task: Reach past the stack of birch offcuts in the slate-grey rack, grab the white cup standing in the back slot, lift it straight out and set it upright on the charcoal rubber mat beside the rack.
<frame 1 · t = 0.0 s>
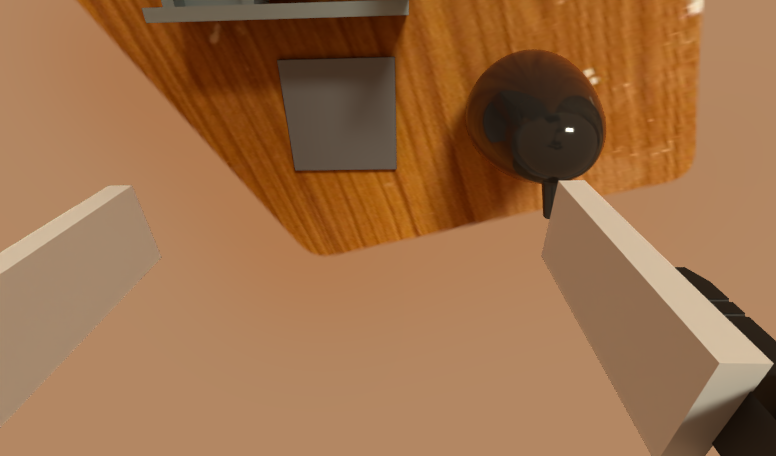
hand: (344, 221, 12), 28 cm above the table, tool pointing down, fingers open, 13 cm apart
pump dispenser: (511, 103, 37), on the table
mat: (341, 117, 38), on the table
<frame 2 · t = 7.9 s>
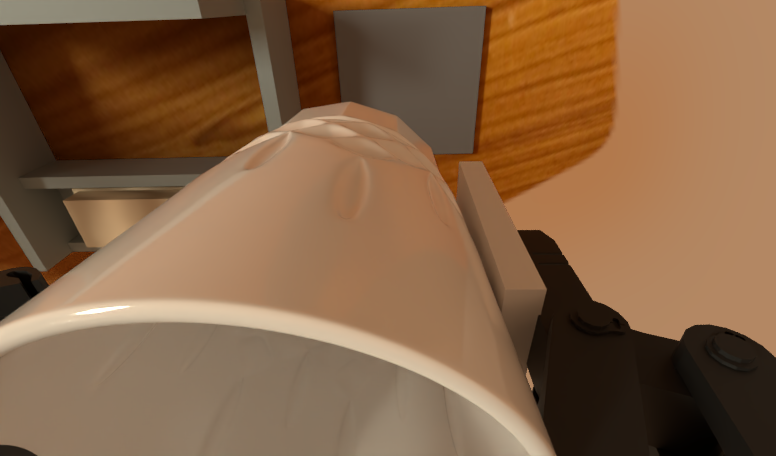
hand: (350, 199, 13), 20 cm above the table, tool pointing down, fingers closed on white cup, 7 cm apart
rack: (173, 152, 33), on the table
white cup: (350, 194, 14), point 19 cm above the table, touching gripper
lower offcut: (182, 203, 35), point 1 cm above the table, touching rack, upper offcut
upper offcut: (161, 213, 33), point 3 cm above the table, touching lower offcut
mat: (409, 87, 30), on the table
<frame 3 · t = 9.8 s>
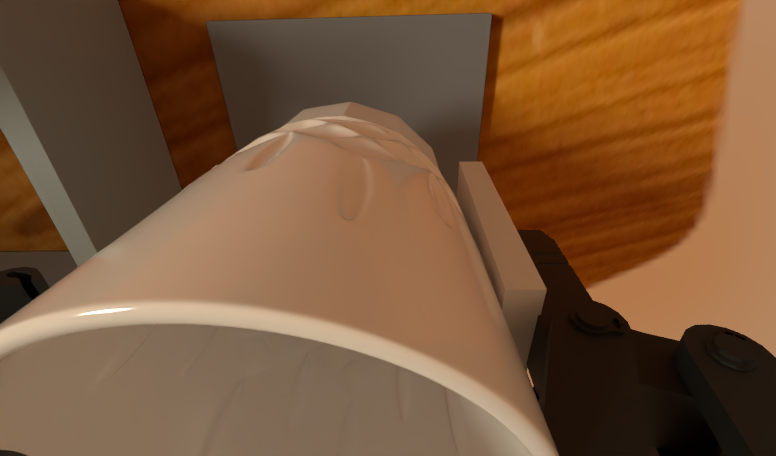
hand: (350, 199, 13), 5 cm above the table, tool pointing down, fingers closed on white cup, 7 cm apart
white cup: (351, 194, 14), point 5 cm above the table, touching gripper
mat: (357, 151, 18), on the table
when the fingers open (2 cm above the table, at t = 11.1 s): white cup moves 1 cm, resting on mat.
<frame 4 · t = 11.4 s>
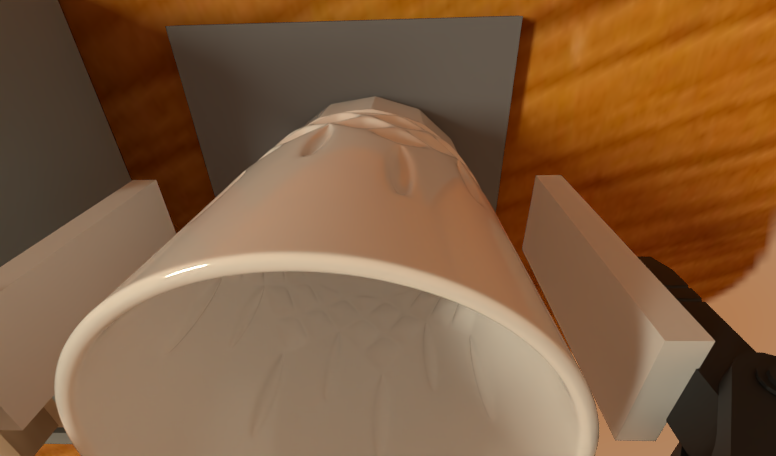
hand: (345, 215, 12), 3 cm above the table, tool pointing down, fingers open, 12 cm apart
white cup: (373, 184, 14), resting on mat
mat: (355, 180, 15), on the table
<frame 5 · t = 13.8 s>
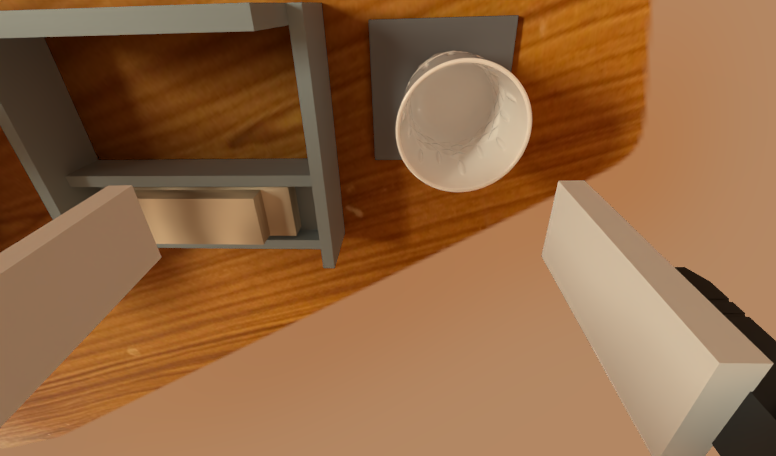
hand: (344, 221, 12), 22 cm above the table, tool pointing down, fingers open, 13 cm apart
rack: (208, 154, 35), on the table
white cup: (448, 95, 31), resting on mat
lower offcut: (215, 203, 36), point 1 cm above the table, touching rack, upper offcut
upper offcut: (196, 212, 35), point 3 cm above the table, touching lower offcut
mat: (439, 93, 31), on the table
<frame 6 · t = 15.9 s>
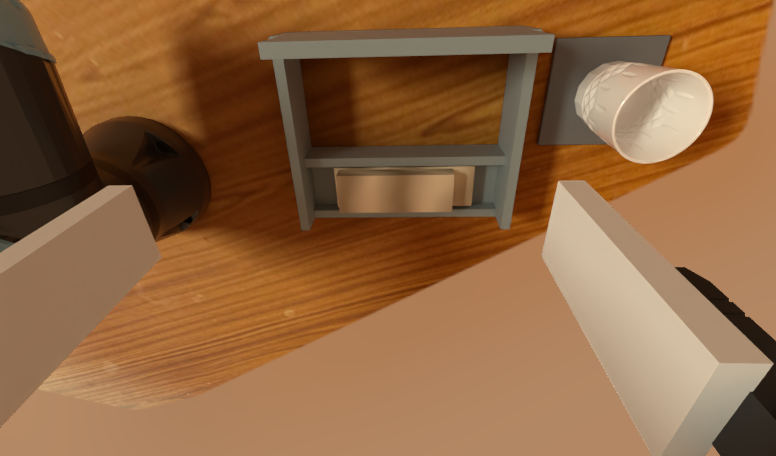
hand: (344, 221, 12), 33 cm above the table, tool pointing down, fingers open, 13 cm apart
rack: (403, 141, 44), on the table
white cup: (605, 94, 40), resting on mat
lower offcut: (403, 181, 45), point 1 cm above the table, touching rack, upper offcut
upper offcut: (395, 187, 44), point 3 cm above the table, touching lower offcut
mat: (597, 93, 41), on the table
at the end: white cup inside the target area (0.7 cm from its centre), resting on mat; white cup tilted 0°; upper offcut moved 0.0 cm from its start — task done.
